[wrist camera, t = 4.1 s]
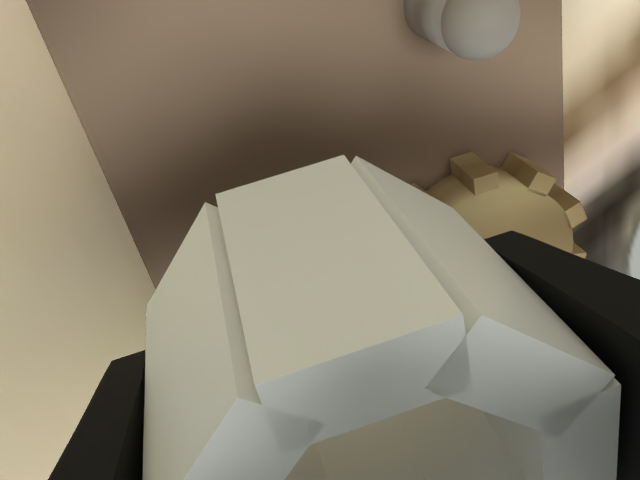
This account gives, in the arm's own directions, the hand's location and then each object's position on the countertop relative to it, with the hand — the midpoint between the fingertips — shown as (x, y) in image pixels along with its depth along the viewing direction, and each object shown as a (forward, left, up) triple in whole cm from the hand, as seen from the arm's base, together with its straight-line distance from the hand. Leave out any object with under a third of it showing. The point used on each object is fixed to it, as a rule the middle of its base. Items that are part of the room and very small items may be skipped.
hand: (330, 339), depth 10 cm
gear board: (+1, -3, -9) cm, 9 cm away
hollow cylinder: (0, 0, -1) cm, 1 cm away
